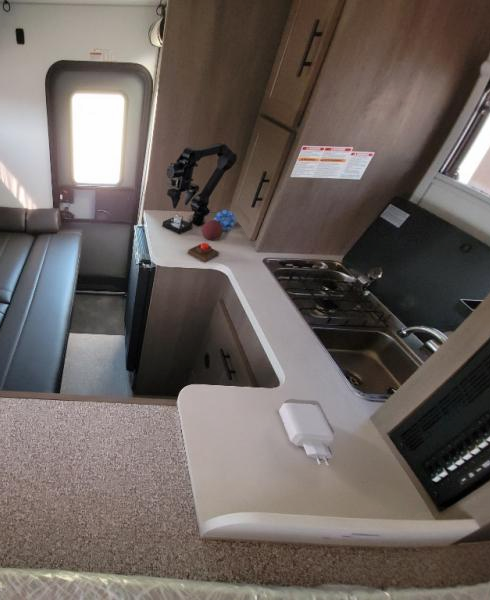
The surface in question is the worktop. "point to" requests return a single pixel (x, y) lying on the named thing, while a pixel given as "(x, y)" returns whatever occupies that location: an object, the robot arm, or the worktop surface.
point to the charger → (308, 429)
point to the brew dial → (178, 218)
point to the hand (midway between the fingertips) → (180, 206)
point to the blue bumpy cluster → (226, 219)
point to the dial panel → (177, 226)
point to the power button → (204, 246)
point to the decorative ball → (212, 230)
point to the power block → (203, 253)
